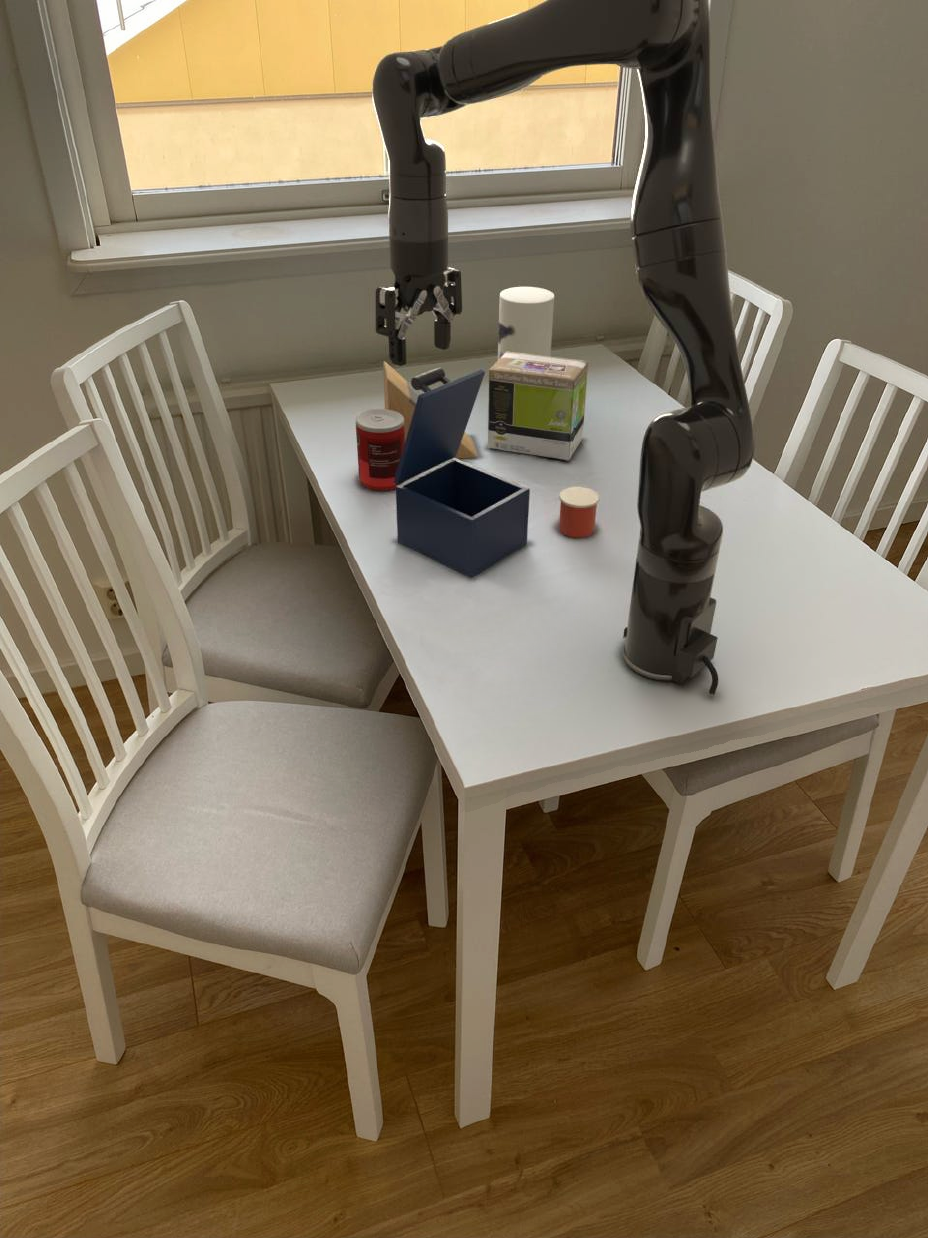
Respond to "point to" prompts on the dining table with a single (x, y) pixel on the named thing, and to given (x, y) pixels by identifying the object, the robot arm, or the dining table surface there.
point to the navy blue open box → (462, 516)
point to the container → (525, 321)
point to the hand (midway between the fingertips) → (420, 355)
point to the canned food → (379, 447)
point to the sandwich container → (413, 406)
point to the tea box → (537, 404)
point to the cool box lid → (437, 421)
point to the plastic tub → (578, 511)
